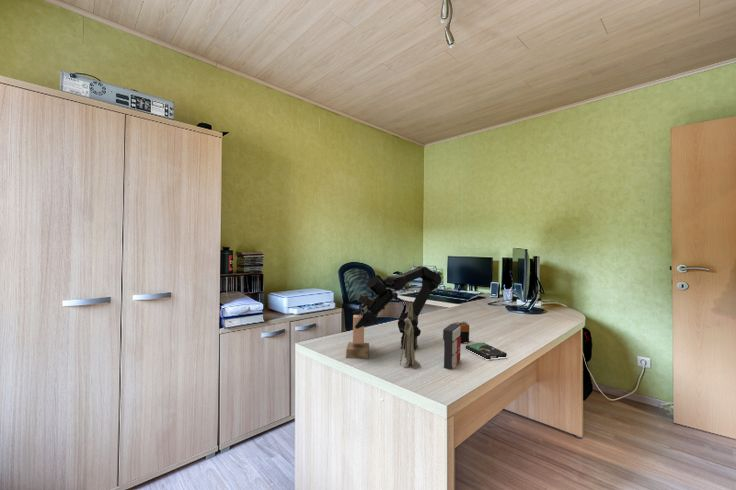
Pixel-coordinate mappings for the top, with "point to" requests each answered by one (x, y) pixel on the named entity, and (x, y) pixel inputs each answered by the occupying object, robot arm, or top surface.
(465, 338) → the battery
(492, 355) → the disk drive
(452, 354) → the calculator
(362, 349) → the walnut block
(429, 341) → the top surface
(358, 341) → the terracotta block
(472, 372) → the top surface
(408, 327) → the wizard figurine
